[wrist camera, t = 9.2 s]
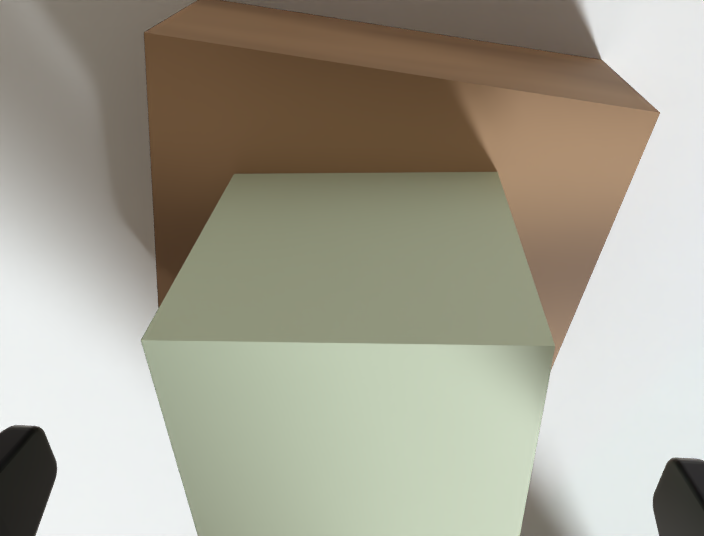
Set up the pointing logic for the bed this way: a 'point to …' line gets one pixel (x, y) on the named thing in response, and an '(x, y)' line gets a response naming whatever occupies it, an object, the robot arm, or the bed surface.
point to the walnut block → (389, 126)
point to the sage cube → (354, 358)
